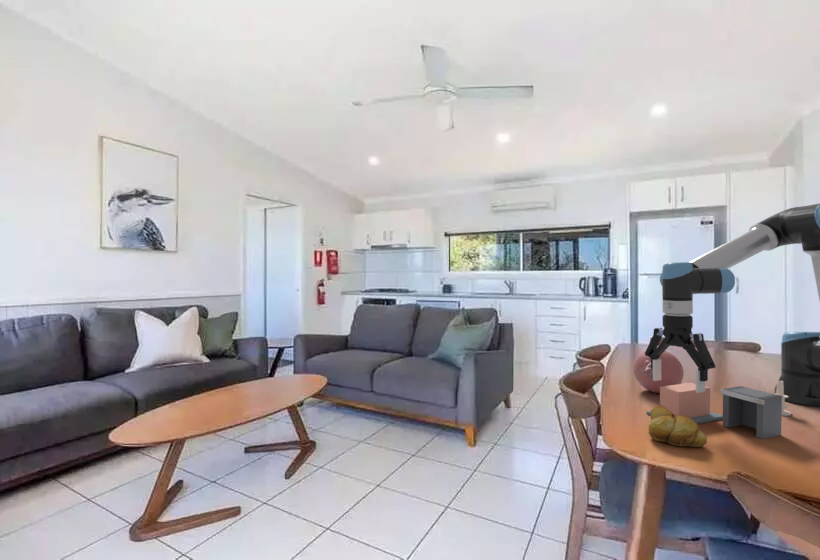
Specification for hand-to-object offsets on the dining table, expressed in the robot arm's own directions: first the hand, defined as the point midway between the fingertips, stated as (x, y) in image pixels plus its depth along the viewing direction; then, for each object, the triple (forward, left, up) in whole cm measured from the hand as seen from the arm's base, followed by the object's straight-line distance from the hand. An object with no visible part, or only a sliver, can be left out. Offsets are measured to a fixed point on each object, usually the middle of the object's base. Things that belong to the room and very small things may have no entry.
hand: (677, 385), depth 124 cm
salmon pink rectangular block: (-3, 0, -9) cm, 9 cm away
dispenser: (-10, +14, -10) cm, 20 cm away
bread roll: (+17, +12, -10) cm, 23 cm away
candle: (-33, +8, -10) cm, 36 cm away
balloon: (-15, -20, -10) cm, 27 cm away
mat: (-3, 0, -10) cm, 10 cm away
